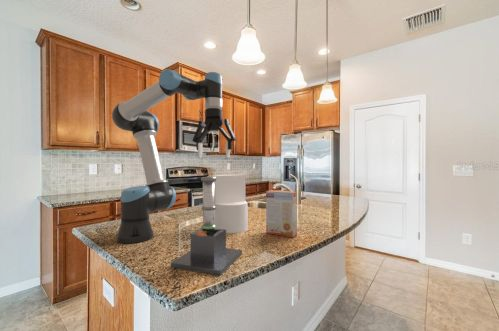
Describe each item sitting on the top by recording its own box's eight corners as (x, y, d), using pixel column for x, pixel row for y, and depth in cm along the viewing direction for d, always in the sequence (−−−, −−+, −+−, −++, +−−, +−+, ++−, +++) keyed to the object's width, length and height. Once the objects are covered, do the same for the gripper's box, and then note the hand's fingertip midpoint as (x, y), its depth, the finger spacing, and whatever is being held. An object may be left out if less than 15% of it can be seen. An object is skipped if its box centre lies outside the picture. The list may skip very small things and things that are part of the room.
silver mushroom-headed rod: (198, 241, 80) (198, 177, 80) (205, 237, 85) (205, 176, 85) (211, 243, 78) (211, 177, 78) (218, 238, 83) (218, 177, 83)
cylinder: (209, 227, 126) (209, 175, 126) (238, 223, 134) (238, 174, 134) (222, 235, 111) (222, 176, 111) (253, 230, 119) (253, 175, 119)
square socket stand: (170, 267, 76) (170, 232, 76) (199, 248, 93) (199, 220, 93) (220, 275, 70) (220, 238, 70) (241, 254, 87) (241, 224, 87)
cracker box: (297, 234, 111) (297, 191, 111) (292, 238, 106) (292, 192, 106) (271, 230, 119) (271, 189, 119) (265, 233, 114) (265, 190, 114)
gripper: (243, 108, 102) (243, 157, 102) (193, 113, 110) (194, 158, 110) (236, 104, 95) (236, 156, 95) (184, 109, 103) (184, 157, 103)
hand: (213, 157), depth 102 cm, fingers open, 13 cm apart
